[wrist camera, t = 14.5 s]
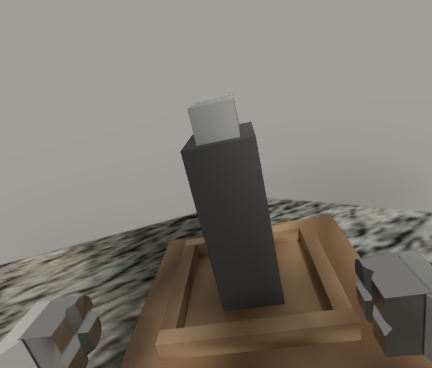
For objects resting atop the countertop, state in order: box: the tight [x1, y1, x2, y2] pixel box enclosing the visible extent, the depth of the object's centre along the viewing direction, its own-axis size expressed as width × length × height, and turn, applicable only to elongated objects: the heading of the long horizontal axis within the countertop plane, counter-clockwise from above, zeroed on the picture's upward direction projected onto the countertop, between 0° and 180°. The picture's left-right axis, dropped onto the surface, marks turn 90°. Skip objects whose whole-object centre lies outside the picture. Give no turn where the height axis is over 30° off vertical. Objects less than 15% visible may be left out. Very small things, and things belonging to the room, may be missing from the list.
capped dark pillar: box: [181, 95, 285, 312], centre depth 19 cm, size 4×5×13 cm
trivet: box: [119, 215, 432, 368], centre depth 21 cm, size 16×16×2 cm
